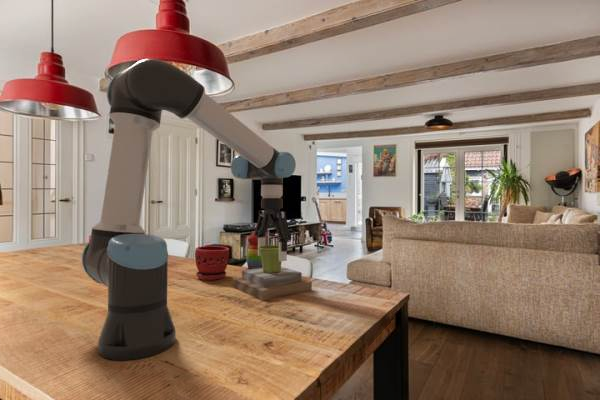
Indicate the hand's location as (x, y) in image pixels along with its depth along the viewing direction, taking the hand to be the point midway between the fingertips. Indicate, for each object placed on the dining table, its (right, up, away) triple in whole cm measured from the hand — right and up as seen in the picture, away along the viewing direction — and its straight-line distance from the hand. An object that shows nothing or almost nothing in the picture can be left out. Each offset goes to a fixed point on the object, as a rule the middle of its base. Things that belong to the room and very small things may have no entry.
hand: (271, 258), depth 122 cm
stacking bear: (-8, -11, +24) cm, 28 cm away
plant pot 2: (0, -5, 0) cm, 5 cm away
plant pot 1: (-25, -11, +16) cm, 32 cm away
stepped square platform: (0, -11, 0) cm, 11 cm away
